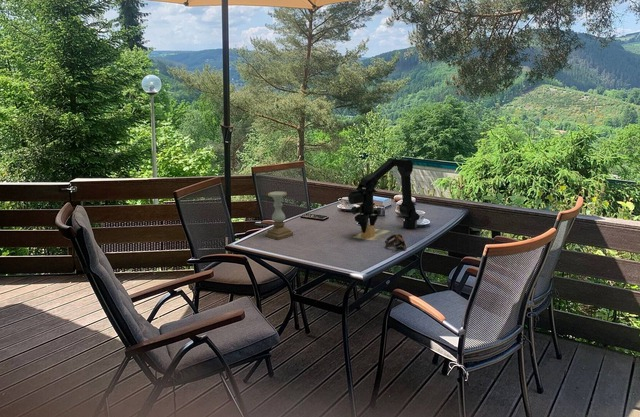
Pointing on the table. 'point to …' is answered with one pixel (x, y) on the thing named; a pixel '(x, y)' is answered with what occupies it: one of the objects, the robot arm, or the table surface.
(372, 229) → the tan wooden cube
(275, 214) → the candle holder
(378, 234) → the birch board
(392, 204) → the table surface
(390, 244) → the brown striped lump
